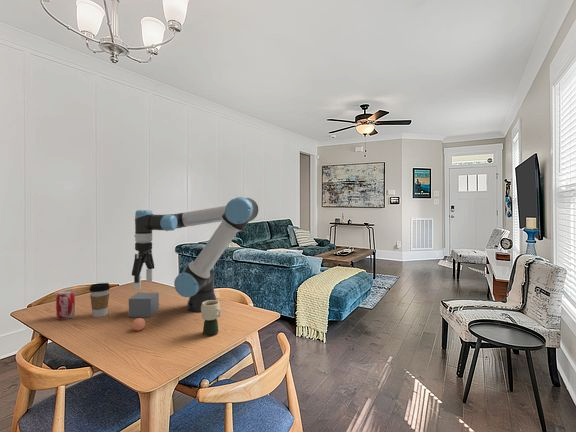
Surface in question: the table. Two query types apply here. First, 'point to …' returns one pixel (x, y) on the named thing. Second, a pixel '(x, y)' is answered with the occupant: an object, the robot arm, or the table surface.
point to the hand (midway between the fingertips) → (143, 285)
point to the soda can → (65, 305)
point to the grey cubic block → (143, 304)
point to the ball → (138, 324)
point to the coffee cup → (99, 299)
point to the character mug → (210, 316)
